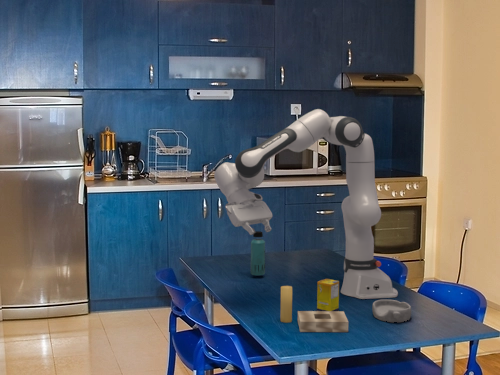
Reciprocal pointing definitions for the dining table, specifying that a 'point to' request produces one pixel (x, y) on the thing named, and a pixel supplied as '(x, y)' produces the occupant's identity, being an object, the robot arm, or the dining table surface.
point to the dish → (391, 310)
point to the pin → (286, 304)
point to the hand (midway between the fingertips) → (261, 232)
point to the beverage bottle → (258, 255)
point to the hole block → (322, 321)
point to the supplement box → (327, 295)
